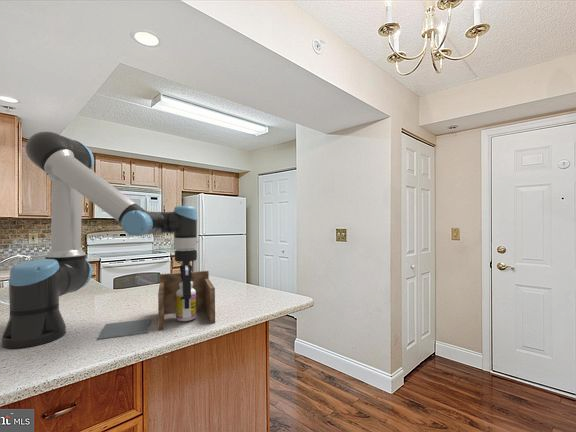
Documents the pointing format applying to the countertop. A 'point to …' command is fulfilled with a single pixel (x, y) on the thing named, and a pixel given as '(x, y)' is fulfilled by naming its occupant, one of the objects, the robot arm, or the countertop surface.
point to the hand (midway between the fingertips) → (186, 314)
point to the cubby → (171, 286)
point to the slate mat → (125, 329)
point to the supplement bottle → (179, 303)
